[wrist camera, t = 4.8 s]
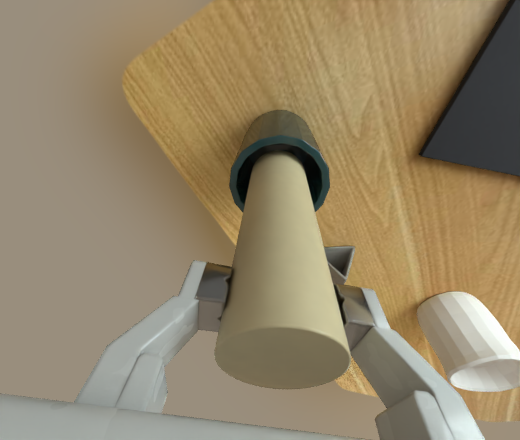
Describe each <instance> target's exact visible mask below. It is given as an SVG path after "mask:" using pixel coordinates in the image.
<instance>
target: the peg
mask: <svg viewBox="0 0 520 440" xmlns="http://www.w3.org/2000/svg"><path fill="white" fill-rule="evenodd" d="M232 267H233V269H232V274H231V280H230V284H229V288H228V295H227V300H226V304H225V309H224V312H223V314H222V318H221V323H220V327H219V332H218V337H217V342H216V347H215V360H216V362H217V364H218V366H219V367H220V368H221V369H222V370H223V371H224V372H226V373H227V374H228V375H230V376H232V377H234V378H235V379H237V380H240V381H242V382H245V383H248V384H252V385H255V386H260V387H265V388H273V389H301V388H309V387H314V386H319V385H322V384H325V383H328V382H331V381H333V380H335V379H337V378H338V377H340V376H341V375H343V374H344V373H345V372H346V371H347V369H348V368H349V366H350V362H351V354H350V350H349V346H348V342H347V338H346V334H345V330H344V326H343V322H342V318H341V314H340V310H339V306H338V302H337V298H336V294H335V290H334V286H333V282H332V278H331V274H330V270H329V266H328V262H327V258H326V254H325V250H324V246H323V242H322V238H321V234H320V230H319V226H318V222H317V218H316V214H315V210H314V206H313V202H312V198H311V194H310V190H309V186H308V182H307V178H306V174H305V171H304V167H303V165H302V163H301V161H300V160H299V159H298V158H297V157H296V156H295V155H293V154H291V153H289V152H286V151H281V150H276V151H271V152H268V153H266V154H264V155H262V156H261V157H260V158H259V159H258V160H257V161H256V162H255V164H254V166H253V168H252V172H251V177H250V182H249V187H248V192H247V197H246V201H245V206H244V211H243V216H242V221H241V226H240V231H239V235H238V240H237V245H236V250H235V255H234V260H233V264H232Z"/></svg>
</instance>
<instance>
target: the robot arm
mask: <svg viewBox="0 0 520 440" xmlns="http://www.w3.org/2000/svg"><path fill="white" fill-rule="evenodd" d="M232 269H233V267H229V266H224V265H219V264H214V263H209V262H208V263H207V262H202V261H197V260H194V261H193V262H192V263H191V265H190V268H189V270H188V273H187V275H186V278H185V280H184V283H183V285H182V287H181V290H180V292H179V295H178V296H173V297H172V298H170V299H169V300H168V301H166V302H165V303H164V304H162V305H161V306H160V307H158V308H157V309H156V310H154V311H153V312H152V313H150V314H149V315H148V316H146V317H145V318H144V319H142V320H141V321H139V322H138V323H137V324H135V325H134V326H133V327H132V328H130V329H129V330H127V331H126V332H125V333H123V334H122V335H121V336H119V337H118V338H117V339H116V340H114V341H113V342H111V343H110V344H109V345H107V347H106V348H105V351H104V352H103V354H102V355H101V357H100V359H99V360H98V362H97V364H96V366H95V367H94V369H93V371H92V372H91V374H90V376H89V378H88V379H87V381H86V383H85V384H84V386H83V388H82V389H81V391H80V393H79V394H78V396H77V398H76V400H75V401H74V403H73V402H64V401H57V400H48V399H41V398H32V397H25V396H17V395H9V394H1V393H0V440H370V439H362V438H354V437H346V436H338V435H330V434H321V433H314V432H306V431H298V430H290V429H282V428H274V427H266V426H258V425H249V424H241V423H233V422H225V421H217V420H209V419H201V418H193V417H185V416H177V415H168V414H161V413H162V410H163V406H164V403H165V400H166V397H167V393H168V391H167V384H166V377H165V371H164V367H165V366H166V365H167V364H168V363H169V362H170V361H171V359H172V358H173V357H174V356H175V355H176V354H177V353H178V352H179V351H180V350H181V349H182V347H183V346H184V345H185V344H186V343H187V342H188V341H189V340H190V339H191V338H192V337H193V335H194V334H195V333H196V332H197V331H198V330H206V331H214V332H219V327H220V323H221V318H222V314H223V312H224V309H225V304H226V300H227V295H228V288H229V284H230V280H231V274H232ZM333 286H334V290H335V294H336V298H337V302H338V306H339V310H340V314H341V318H342V322H343V326H344V330H345V334H346V338H347V342H348V346H349V350H350V354H351V356H352V357H353V359H354V360H355V362H356V363H357V365H358V366H359V368H360V369H361V371H362V372H363V374H364V375H365V377H366V378H367V380H368V381H369V383H370V384H371V385H372V387H373V388H374V390H375V391H376V393H377V394H378V396H379V397H380V399H381V400H382V402H383V403H384V405H385V406H386V408H387V409H386V410H384V411H383V412H381V413H380V414H378V415H377V416H376V418H375V422H376V426H377V429H378V433H379V437H380V440H485V439H484V437H483V435H482V434H481V432H480V430H479V428H478V426H477V424H476V423H475V421H474V419H473V417H472V415H471V413H470V411H469V410H468V408H467V406H466V404H465V402H464V400H463V399H462V397H461V395H460V394H459V393H458V392H457V391H456V390H455V389H454V388H453V387H452V386H451V385H450V384H449V383H448V382H447V381H446V380H445V379H444V378H443V377H442V376H441V375H440V374H439V373H438V372H437V371H436V370H435V369H434V368H433V367H432V366H431V365H430V364H429V363H428V362H427V361H426V360H425V359H424V358H423V357H422V356H421V355H419V354H418V353H417V352H416V351H415V350H414V349H413V348H412V347H411V346H410V345H409V344H408V343H407V342H406V341H405V340H404V339H403V338H402V337H401V336H400V335H399V334H398V333H397V332H396V331H395V330H392V329H391V328H390V326H389V324H388V321H387V319H386V317H385V314H384V312H383V310H382V307H381V305H380V303H379V300H378V298H377V296H376V293H375V292H374V291H373V289H367V288H361V287H355V286H349V285H342V284H335V283H334V284H333Z"/></svg>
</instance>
